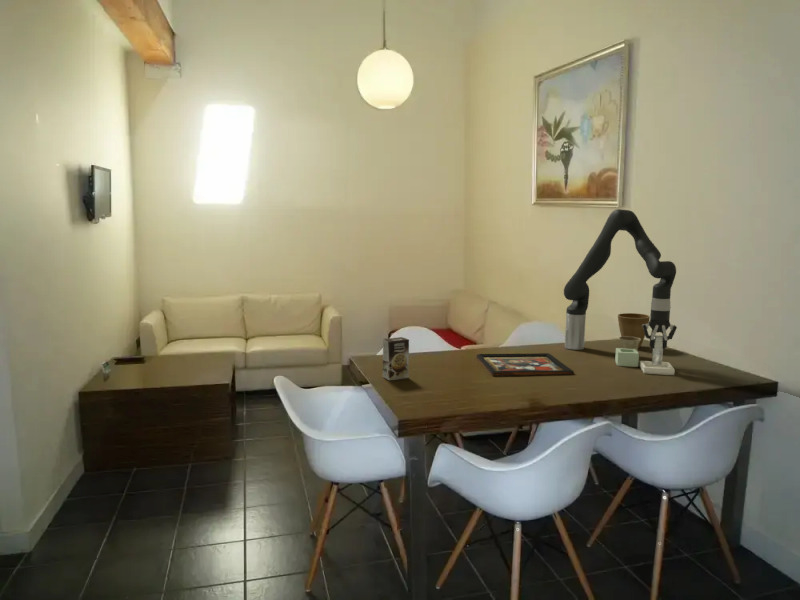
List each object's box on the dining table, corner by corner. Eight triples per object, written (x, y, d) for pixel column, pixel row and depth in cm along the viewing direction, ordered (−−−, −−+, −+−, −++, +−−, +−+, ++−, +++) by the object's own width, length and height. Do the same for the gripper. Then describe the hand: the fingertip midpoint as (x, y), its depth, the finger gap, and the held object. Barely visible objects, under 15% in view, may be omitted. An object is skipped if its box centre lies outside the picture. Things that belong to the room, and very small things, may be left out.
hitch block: (617, 365, 274) (618, 352, 273) (615, 360, 282) (615, 348, 281) (638, 366, 272) (638, 353, 271) (635, 362, 280) (636, 349, 279)
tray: (643, 373, 261) (644, 367, 261) (639, 366, 273) (639, 360, 272) (674, 375, 259) (674, 369, 258) (668, 367, 270) (668, 362, 270)
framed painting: (495, 380, 252) (496, 373, 252) (468, 359, 286) (468, 353, 286) (581, 376, 260) (582, 369, 260) (545, 356, 294) (545, 350, 294)
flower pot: (636, 354, 295) (637, 336, 293) (642, 359, 286) (643, 340, 284) (616, 353, 296) (617, 335, 294) (621, 358, 286) (622, 340, 285)
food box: (389, 380, 249) (389, 341, 247) (382, 377, 255) (382, 338, 252) (409, 378, 253) (409, 339, 251) (402, 374, 259) (402, 336, 256)
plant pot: (639, 343, 318) (641, 312, 315) (653, 350, 303) (655, 317, 301) (611, 343, 317) (613, 312, 315) (623, 350, 302) (625, 318, 300)
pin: (652, 364, 264) (654, 336, 262) (651, 362, 268) (652, 335, 266) (662, 365, 263) (664, 337, 261) (661, 362, 267) (662, 335, 265)
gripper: (676, 307, 264) (673, 347, 266) (641, 306, 267) (638, 345, 269) (680, 310, 257) (677, 351, 259) (643, 309, 260) (641, 349, 262)
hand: (657, 348), depth 264 cm, fingers closed on pin, 4 cm apart
